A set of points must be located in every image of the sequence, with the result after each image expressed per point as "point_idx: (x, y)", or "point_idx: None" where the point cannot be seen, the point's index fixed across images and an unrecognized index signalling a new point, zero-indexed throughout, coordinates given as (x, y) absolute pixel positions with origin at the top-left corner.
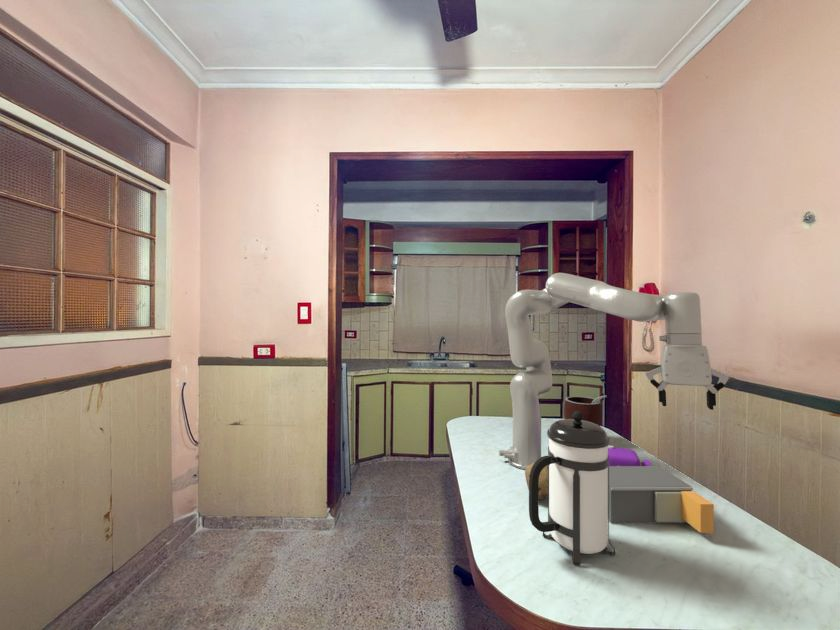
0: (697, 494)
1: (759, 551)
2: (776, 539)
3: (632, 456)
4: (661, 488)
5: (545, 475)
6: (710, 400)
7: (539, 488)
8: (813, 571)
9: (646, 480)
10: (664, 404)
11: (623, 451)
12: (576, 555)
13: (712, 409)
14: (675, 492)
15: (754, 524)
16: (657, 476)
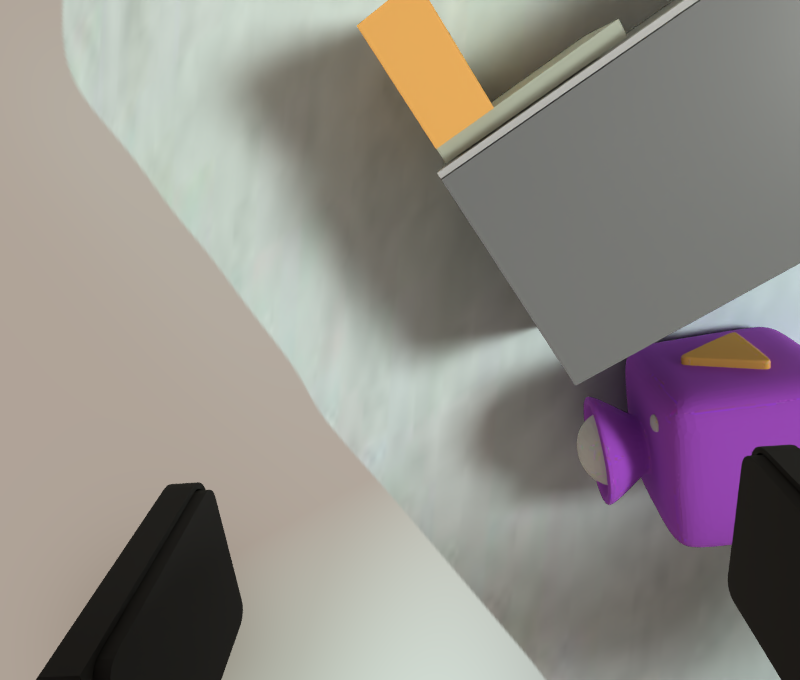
0: (421, 112)
1: (241, 71)
2: (189, 210)
3: (709, 437)
4: (594, 63)
5: None
6: (143, 571)
7: None
8: (105, 32)
9: (667, 122)
10: (785, 452)
11: None
12: None
13: (181, 485)
14: (520, 99)
15: (244, 289)
16: (600, 223)
